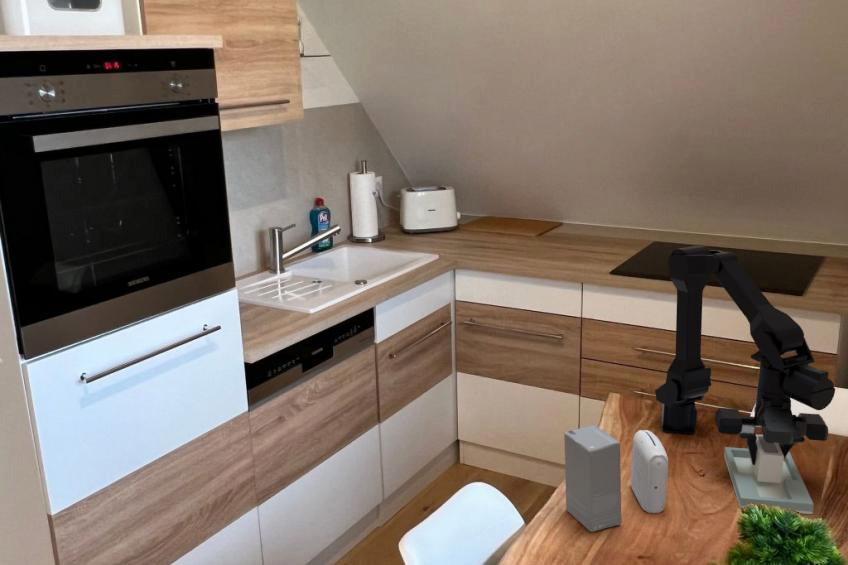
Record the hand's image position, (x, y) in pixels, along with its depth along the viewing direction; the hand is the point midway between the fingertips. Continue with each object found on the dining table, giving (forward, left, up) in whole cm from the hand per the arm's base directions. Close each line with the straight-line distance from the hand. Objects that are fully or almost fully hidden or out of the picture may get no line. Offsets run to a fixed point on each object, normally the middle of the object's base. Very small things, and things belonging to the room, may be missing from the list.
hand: (765, 464), depth 154 cm
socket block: (0, 0, -1) cm, 1 cm away
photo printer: (-22, -11, -3) cm, 25 cm away
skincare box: (-32, -19, -3) cm, 37 cm away
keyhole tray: (0, -2, -3) cm, 3 cm away
